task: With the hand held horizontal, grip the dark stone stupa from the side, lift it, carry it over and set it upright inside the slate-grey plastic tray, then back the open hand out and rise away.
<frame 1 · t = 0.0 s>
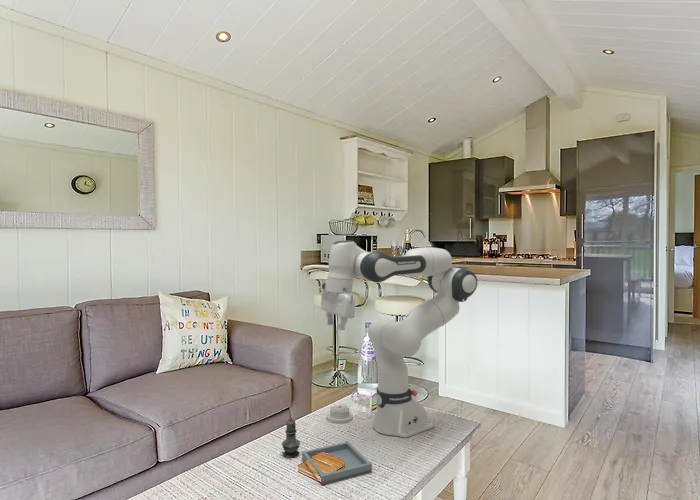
hand: (335, 327, 151), 39 cm above the table, tool pointing down, fingers open, 8 cm apart
tray: (336, 465, 135), on the table
dark stone stupa: (290, 454, 142), on the table
mechanical component: (339, 419, 171), on the table
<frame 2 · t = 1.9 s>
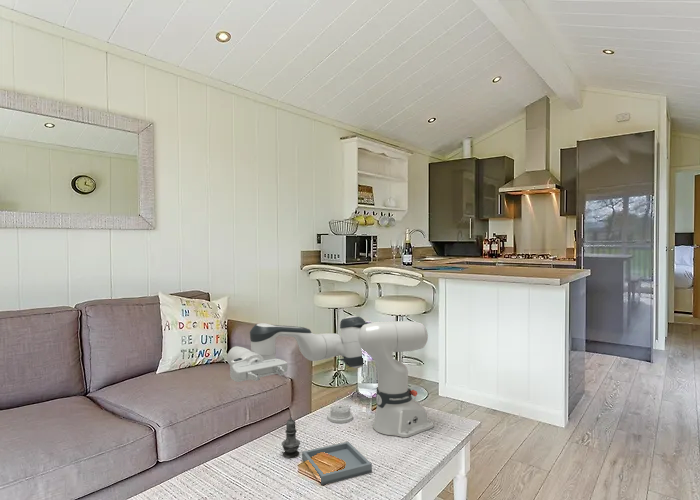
hand: (270, 375, 153), 22 cm above the table, tool horizontal, fingers open, 8 cm apart
nothing on the table moved.
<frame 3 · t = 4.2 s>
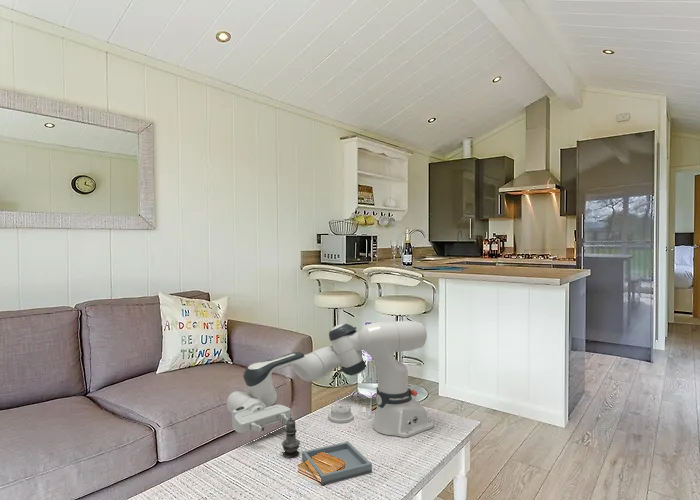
hand: (274, 425, 149), 6 cm above the table, tool horizontal, fingers open, 8 cm apart
nothing on the table moved.
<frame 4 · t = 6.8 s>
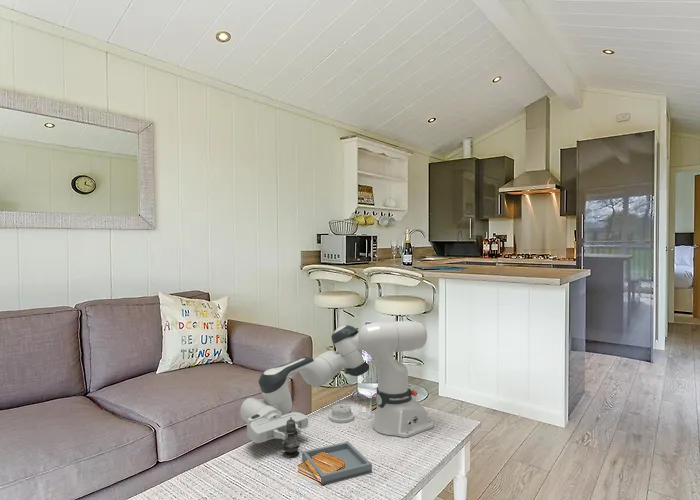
hand: (292, 434, 141), 7 cm above the table, tool horizontal, fingers closed on dark stone stupa, 4 cm apart
dark stone stupa: (290, 454, 142), on the table, touching gripper
everything else where it was.
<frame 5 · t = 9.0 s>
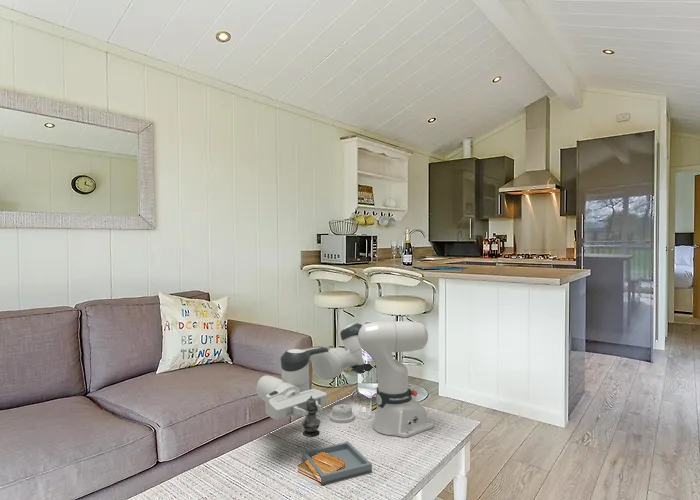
hand: (313, 411, 137), 16 cm above the table, tool horizontal, fingers closed on dark stone stupa, 4 cm apart
dark stone stupa: (311, 433, 138), point 8 cm above the table, touching gripper
everything else where it was.
when the fingers open (9 cm above the table, at t = 11.6 s): dark stone stupa stays where it is, resting on tray.
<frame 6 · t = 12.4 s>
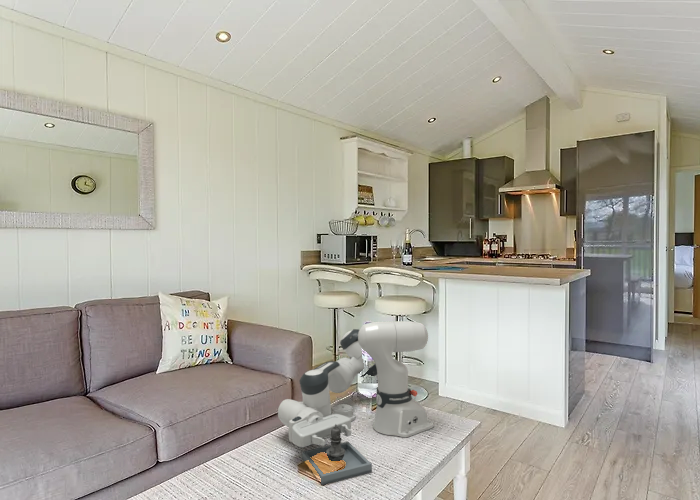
hand: (337, 438, 134), 9 cm above the table, tool horizontal, fingers open, 8 cm apart
dark stone stupa: (335, 463, 135), point 1 cm above the table, touching tray
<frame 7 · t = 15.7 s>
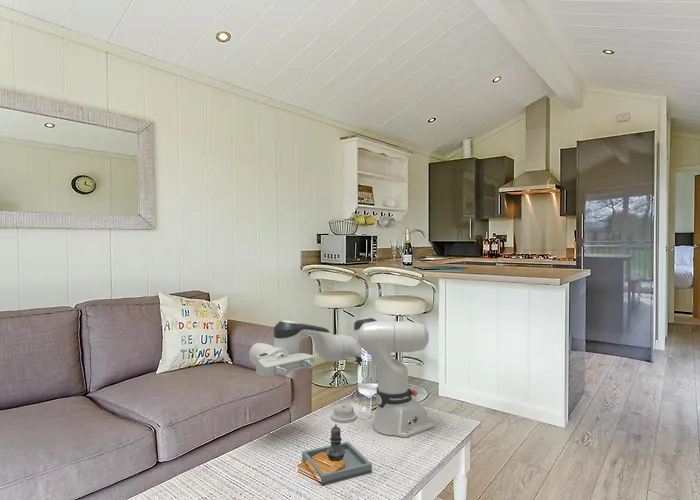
hand: (299, 369, 148), 26 cm above the table, tool horizontal, fingers open, 8 cm apart
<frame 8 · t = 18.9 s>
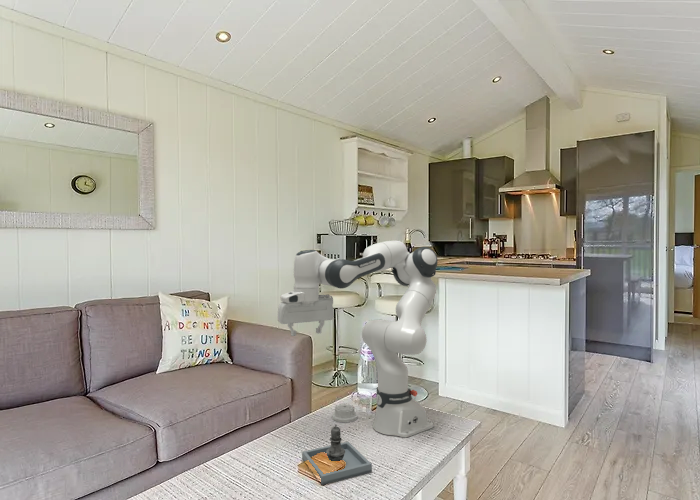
hand: (306, 334, 157), 35 cm above the table, tool pointing down, fingers open, 8 cm apart
at the end: dark stone stupa inside the target area on the tray (0.1 cm from its centre), point 0.6 cm above the tray's base; dark stone stupa tilted 0°; the gripper is holding nothing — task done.
